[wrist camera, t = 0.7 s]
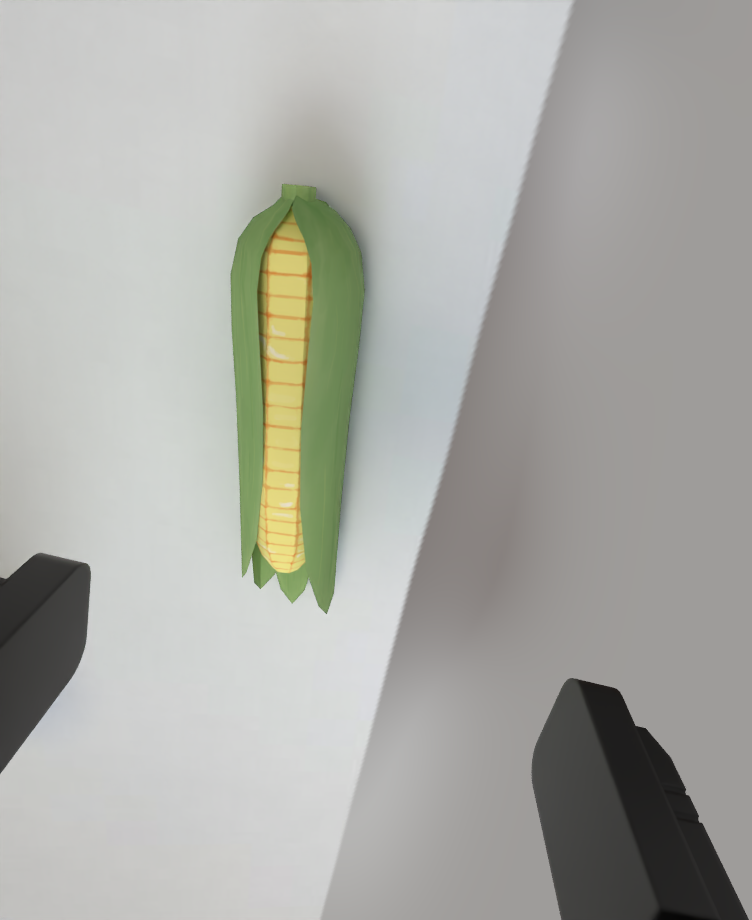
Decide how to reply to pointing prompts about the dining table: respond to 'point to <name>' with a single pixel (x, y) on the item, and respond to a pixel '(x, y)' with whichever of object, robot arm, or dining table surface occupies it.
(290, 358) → the edible corn
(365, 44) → the dining table surface
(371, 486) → the dining table surface
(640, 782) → the robot arm
